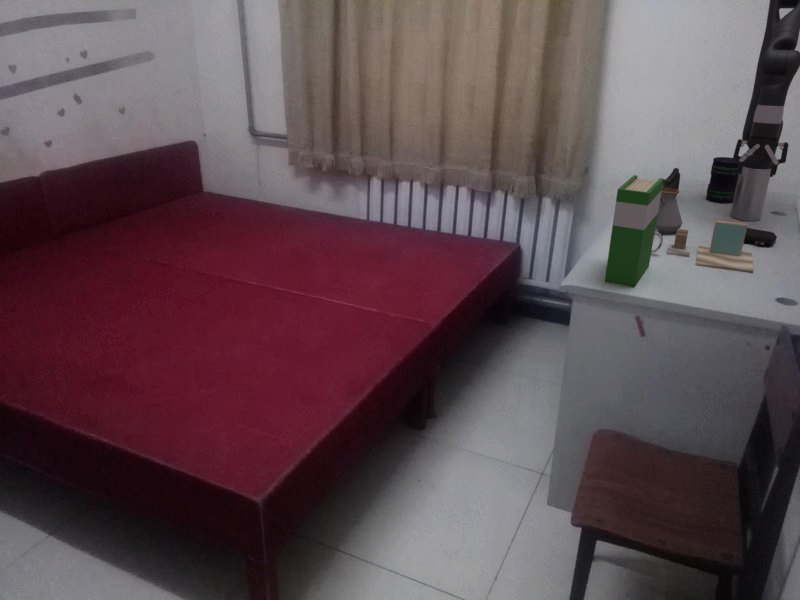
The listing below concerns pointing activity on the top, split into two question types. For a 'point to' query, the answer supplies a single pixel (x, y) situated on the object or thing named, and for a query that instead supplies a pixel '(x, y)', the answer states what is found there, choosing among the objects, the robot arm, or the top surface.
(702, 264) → the board
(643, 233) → the hardback book
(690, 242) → the top surface
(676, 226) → the coffee pot
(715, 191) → the storage jar
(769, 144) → the robot arm
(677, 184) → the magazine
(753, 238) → the carrying case or bag
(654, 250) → the ring
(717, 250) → the tile
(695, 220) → the top surface
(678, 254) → the brown rectangular block
